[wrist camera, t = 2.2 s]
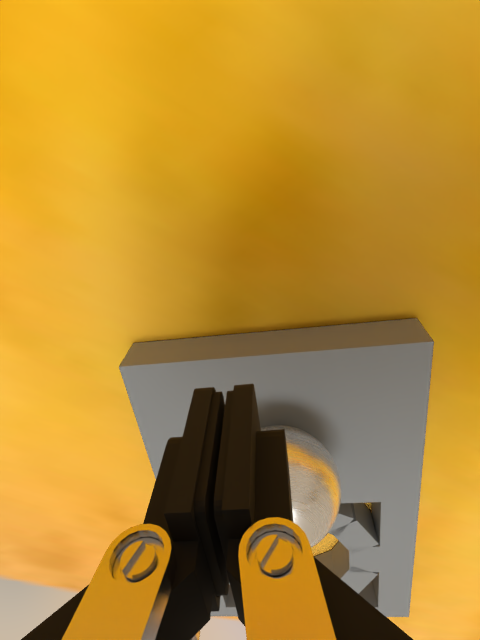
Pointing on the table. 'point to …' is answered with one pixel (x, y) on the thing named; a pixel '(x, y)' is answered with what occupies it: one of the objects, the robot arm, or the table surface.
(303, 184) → the table surface
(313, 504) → the steel ball
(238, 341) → the hole board
